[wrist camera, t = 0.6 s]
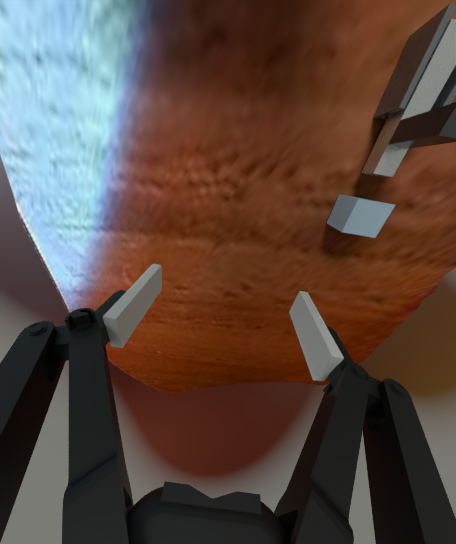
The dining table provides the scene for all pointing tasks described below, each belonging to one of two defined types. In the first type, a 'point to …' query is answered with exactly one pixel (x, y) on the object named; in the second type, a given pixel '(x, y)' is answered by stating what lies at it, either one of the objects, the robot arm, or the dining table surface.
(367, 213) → the socket
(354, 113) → the dining table surface
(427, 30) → the open u-shaped channel
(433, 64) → the gray bent bar
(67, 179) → the dining table surface
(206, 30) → the dining table surface
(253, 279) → the dining table surface
